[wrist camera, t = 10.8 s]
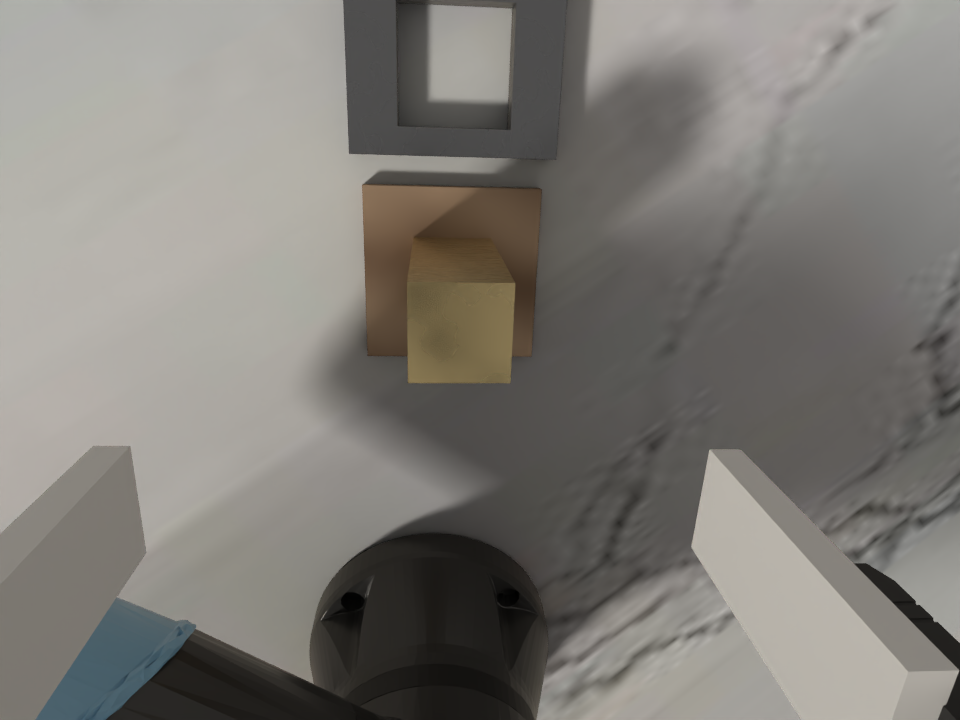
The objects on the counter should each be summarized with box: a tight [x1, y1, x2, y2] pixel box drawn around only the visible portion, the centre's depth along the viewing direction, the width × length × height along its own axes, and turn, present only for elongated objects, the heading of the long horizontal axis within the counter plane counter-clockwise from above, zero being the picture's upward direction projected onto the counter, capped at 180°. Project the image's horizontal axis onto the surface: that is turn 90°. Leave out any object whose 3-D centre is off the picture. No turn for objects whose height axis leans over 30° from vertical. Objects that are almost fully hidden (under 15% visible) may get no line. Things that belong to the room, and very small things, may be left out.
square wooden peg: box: [407, 237, 515, 383], centre depth 29 cm, size 4×4×10 cm
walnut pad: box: [362, 184, 542, 357], centre depth 34 cm, size 9×9×1 cm
